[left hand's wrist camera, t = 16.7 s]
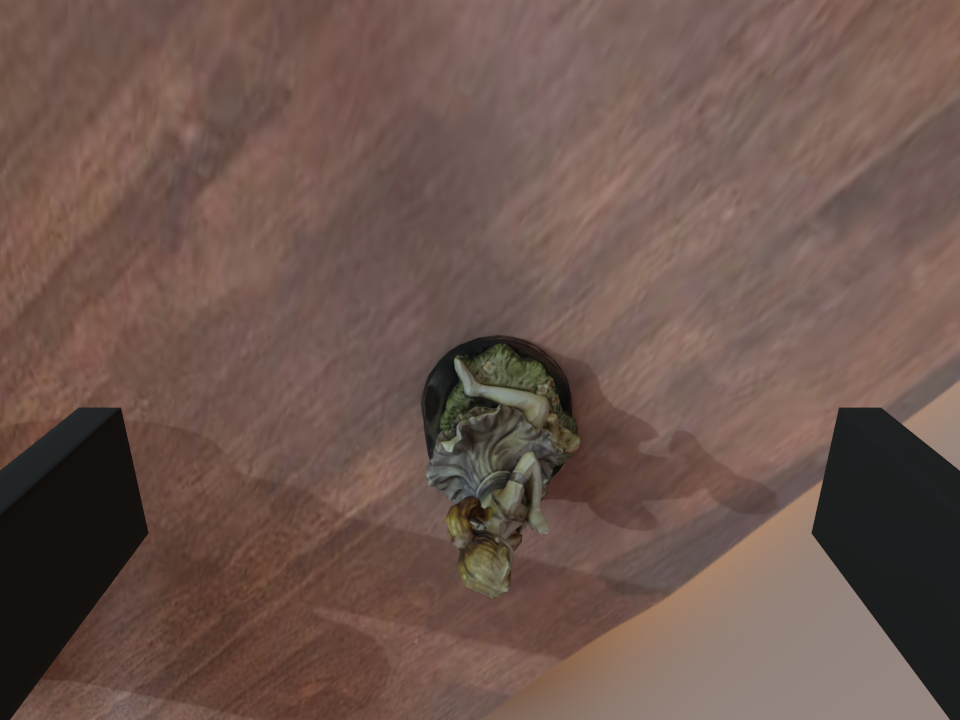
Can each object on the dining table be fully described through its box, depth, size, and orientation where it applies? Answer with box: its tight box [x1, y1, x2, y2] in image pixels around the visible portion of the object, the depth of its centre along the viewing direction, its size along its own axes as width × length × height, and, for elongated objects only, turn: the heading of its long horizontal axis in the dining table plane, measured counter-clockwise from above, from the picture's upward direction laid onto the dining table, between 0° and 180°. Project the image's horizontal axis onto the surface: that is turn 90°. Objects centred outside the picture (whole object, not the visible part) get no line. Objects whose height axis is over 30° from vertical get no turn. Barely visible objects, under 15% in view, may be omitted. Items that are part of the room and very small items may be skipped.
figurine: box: [421, 335, 581, 599], centre depth 39 cm, size 12×11×15 cm
